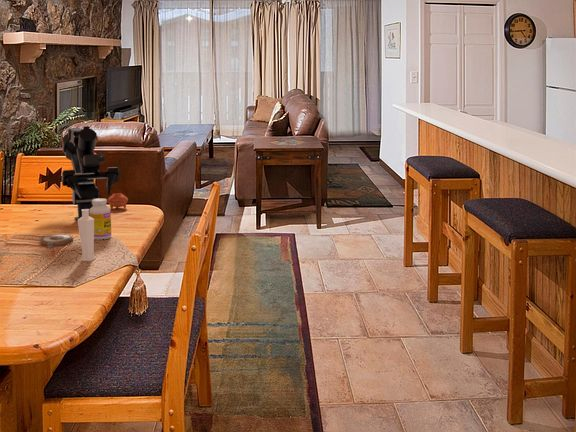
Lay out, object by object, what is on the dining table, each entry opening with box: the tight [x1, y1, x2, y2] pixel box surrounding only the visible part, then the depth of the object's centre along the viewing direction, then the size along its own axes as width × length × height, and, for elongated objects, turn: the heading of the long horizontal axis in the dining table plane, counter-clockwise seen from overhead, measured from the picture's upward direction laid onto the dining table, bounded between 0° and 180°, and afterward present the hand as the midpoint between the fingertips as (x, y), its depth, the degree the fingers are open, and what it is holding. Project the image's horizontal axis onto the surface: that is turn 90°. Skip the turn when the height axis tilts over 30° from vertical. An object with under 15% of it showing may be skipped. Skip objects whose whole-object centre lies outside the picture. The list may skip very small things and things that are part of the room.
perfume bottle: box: [77, 209, 96, 262], centre depth 188 cm, size 5×4×15 cm
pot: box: [107, 192, 129, 210], centre depth 255 cm, size 8×8×7 cm
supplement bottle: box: [89, 197, 112, 241], centre depth 211 cm, size 7×7×13 cm
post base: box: [39, 232, 74, 249], centre depth 207 cm, size 13×10×1 cm
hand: (95, 196), depth 216 cm, fingers open, 9 cm apart
